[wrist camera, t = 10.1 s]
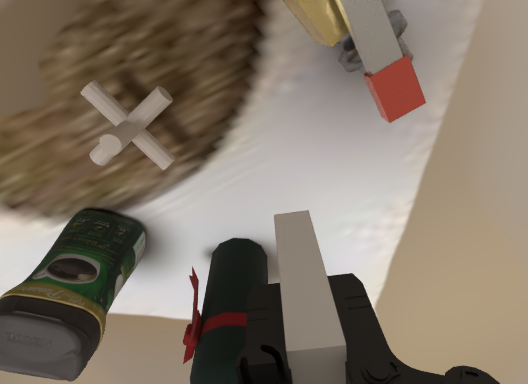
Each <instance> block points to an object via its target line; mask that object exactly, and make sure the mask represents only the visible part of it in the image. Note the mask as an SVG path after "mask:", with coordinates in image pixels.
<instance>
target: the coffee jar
mask: <svg viewBox="0 0 528 384" xmlns="http://www.w3.org/2000/svg"><path fill="white" fill-rule="evenodd" d="M145 243H146V236H145V232H144V230H143V228H142V227H141V226H140V225H139V224H138V223H136V222H134V221H132V220H130V219H127V218H124V217H121V216H118V215H114V214H110V213H106V212H100V211H94V210H85V211H81V212H79V213H77V214H76V215H75V216H74V217H73V218H72V219H71V220H70V221H69V223H68V224H67V225H66V227H65V228H64V229H63V231H62V232H61V234H60V236H59V237H58V239H57V240H56V242H55V243H54V245H53V246H52V248H51V249H50V250H49V252H48V253H47V255H46V256H45V257H44V259H43V260H42V261H41V263H40V264H39V265H38V266H37V268H36V269H35V270H34V271H33V272H32V274H31V275H30V276H29V277H28V278H27V279H26V280H24V281H23V282H22V283H21V284H19V285H18V286H16V287H14V288H13V289H11V290H9V291H8V292H6V293H5V294H3V295H2V296H1V297H0V370H2V371H6V372H13V373H18V374H25V375H31V376H37V377H44V378H50V379H55V380H67V381H74V380H75V379H76V378H77V377H78V376H79V375H80V374H81V372H82V371H83V369H84V368H85V367H86V365H87V362H88V361H89V360H90V358H91V357H92V355H93V354H94V352H95V351H96V350H97V348H98V346H99V345H100V342H101V340H102V337H103V334H104V331H105V324H106V315H107V313H108V311H109V309H110V307H111V305H112V303H113V301H114V299H115V298H116V296H117V295H118V293H119V291H120V290H121V288H122V287H123V285H124V284H125V282H126V281H127V279H128V278H129V277H130V275H131V274H132V272H133V271H134V269H135V268H136V266H137V264H138V262H139V261H140V259H141V257H142V254H143V252H144V249H145Z"/></svg>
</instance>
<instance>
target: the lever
mask: <svg viewBox="0 0 528 384" xmlns="http://www.w3.org/2000/svg"><path fill="white" fill-rule="evenodd" d="M335 1H336V3H337V5H338V8H339V10H340V12H341V14H342V17H343V19H344V21H345V23H346V26H347V28H348V30H349V33H350V35H351V37H352V39H353V42H354V44H355V46H356V49H357V51H358V53H359V55H360V58H361V60H362V62H363V64H364V67H365V69H366V71H367V73H365V74H363V76H364V78H365V80H366V83H367V85H368V87H369V89H370V92H371V94H372V96H373V98H374V101H375V103H376V105H377V107H378V109H379V112H380V114H381V116H382V118H384V119H385V120H386V121H388V122H389V123H391V122H392V121H394V120H396V119H398V118H400V117H401V116H403V115H405V114H407V113H409V112H410V111H412V110H414V109H416V108H418V107H419V106H421V105H423V104H425V103H426V101H425V98H424V96H423V93H422V90H421V88H420V85H419V82H418V80H417V77H416V74H415V72H414V69H413V66H412V64H411V61H410V58H409V56H408V55H405V54H402V53H401V50H400V47H399V45H398V42H397V39H396V37H395V34H394V32H393V29H392V26H391V24H390V21H389V18H388V16H387V13H386V11H385V8H384V5H383V3H382V0H335Z"/></svg>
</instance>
